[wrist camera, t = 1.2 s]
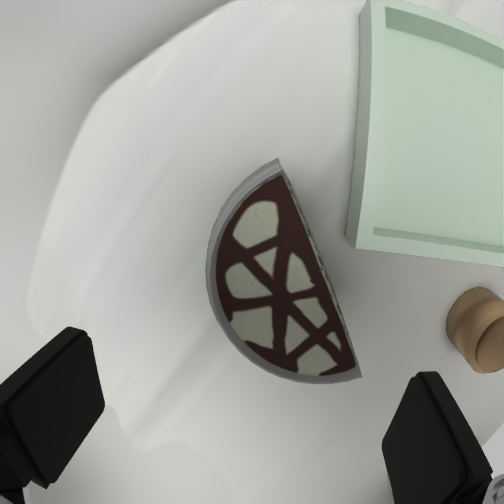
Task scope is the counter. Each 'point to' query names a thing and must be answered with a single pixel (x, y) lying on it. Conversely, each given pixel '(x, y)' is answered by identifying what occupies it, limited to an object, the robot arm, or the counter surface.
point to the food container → (276, 285)
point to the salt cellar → (478, 329)
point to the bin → (428, 136)
